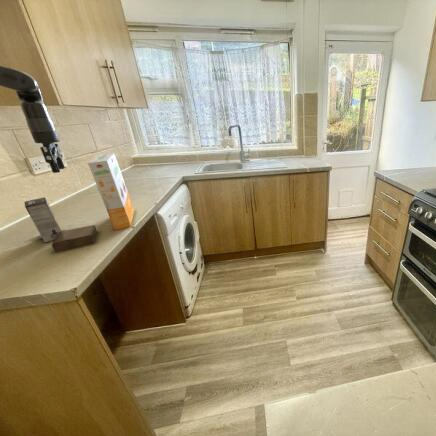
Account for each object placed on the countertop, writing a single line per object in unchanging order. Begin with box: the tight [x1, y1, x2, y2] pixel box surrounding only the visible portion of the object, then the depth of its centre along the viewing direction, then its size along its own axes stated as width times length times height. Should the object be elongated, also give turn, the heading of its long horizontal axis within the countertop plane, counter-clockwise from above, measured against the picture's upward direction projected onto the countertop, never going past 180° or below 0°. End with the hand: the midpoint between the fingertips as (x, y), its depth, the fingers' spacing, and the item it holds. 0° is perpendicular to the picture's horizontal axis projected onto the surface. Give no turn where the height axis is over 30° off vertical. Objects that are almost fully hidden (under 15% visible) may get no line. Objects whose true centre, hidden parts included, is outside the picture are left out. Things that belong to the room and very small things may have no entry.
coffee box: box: [23, 196, 63, 243], centre depth 100 cm, size 9×6×16 cm
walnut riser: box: [51, 224, 99, 254], centre depth 98 cm, size 12×12×4 cm
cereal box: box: [87, 152, 135, 230], centre depth 112 cm, size 22×6×30 cm, turn 27°
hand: (59, 170), depth 103 cm, fingers open, 8 cm apart
